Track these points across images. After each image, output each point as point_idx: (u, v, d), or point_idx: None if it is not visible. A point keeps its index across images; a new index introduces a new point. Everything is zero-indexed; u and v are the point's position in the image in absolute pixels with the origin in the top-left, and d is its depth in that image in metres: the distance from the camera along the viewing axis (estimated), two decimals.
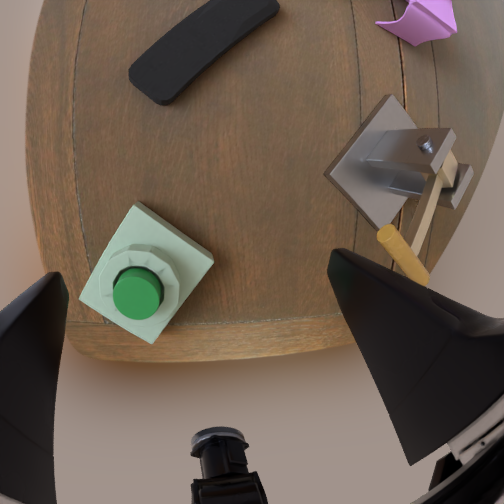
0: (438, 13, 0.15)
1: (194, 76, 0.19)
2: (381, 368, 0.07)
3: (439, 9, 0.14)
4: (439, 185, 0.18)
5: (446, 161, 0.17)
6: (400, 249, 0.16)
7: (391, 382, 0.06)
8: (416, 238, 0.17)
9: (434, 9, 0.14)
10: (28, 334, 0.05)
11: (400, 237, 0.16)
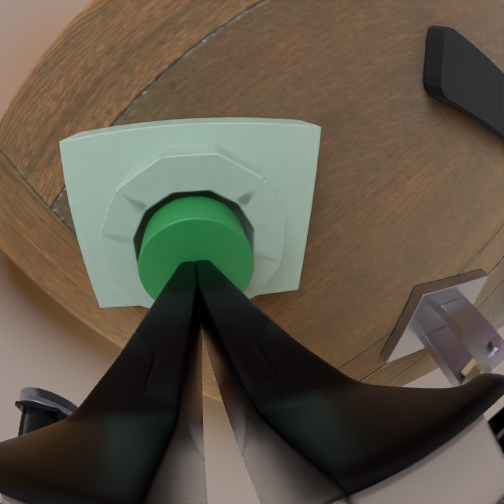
0: None
1: (466, 110, 0.12)
2: (227, 406, 0.06)
3: None
4: None
5: None
6: None
7: (234, 425, 0.06)
8: None
9: None
10: (195, 329, 0.06)
11: None
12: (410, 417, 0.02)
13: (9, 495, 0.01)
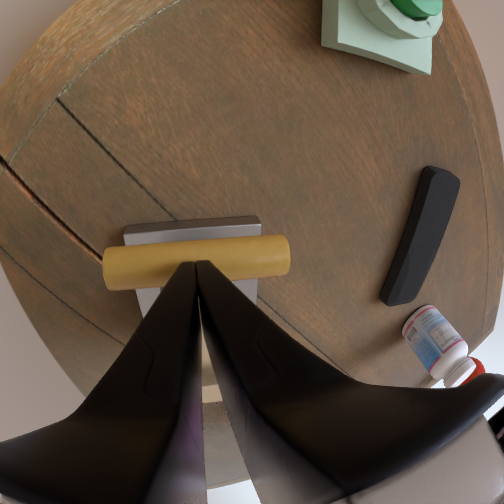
0: None
1: (420, 206, 0.21)
2: (227, 406, 0.06)
3: None
4: (204, 369, 0.13)
5: None
6: (252, 263, 0.09)
7: (234, 425, 0.06)
8: None
9: None
10: (195, 329, 0.06)
11: (265, 275, 0.09)
12: (411, 418, 0.02)
13: (9, 495, 0.01)
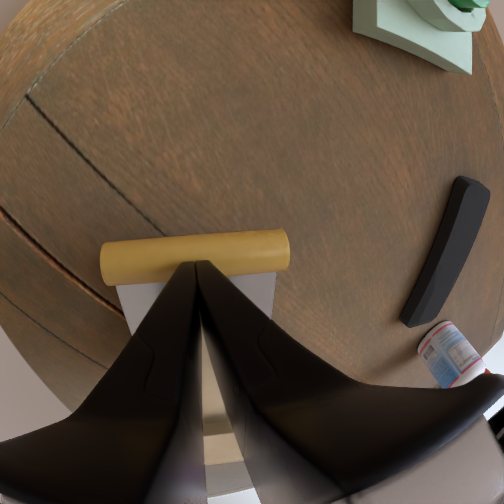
0: None
1: (451, 221, 0.17)
2: (227, 405, 0.06)
3: None
4: (211, 414, 0.10)
5: (237, 444, 0.10)
6: (251, 247, 0.09)
7: (234, 425, 0.06)
8: None
9: None
10: (195, 329, 0.06)
11: (266, 264, 0.09)
12: (410, 418, 0.02)
13: (9, 495, 0.01)
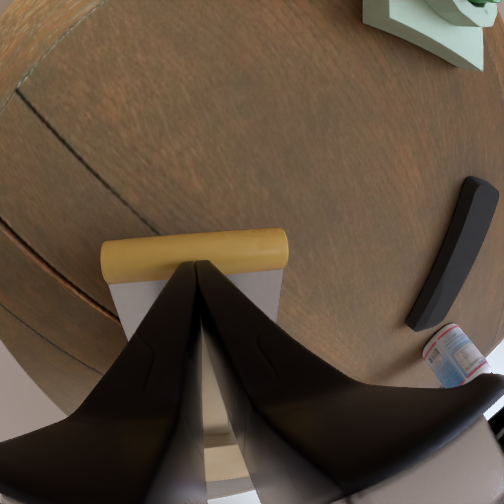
0: None
1: (461, 222, 0.17)
2: (227, 406, 0.06)
3: None
4: (212, 425, 0.10)
5: (241, 458, 0.10)
6: (249, 243, 0.09)
7: (234, 425, 0.06)
8: None
9: None
10: (195, 329, 0.06)
11: (265, 260, 0.09)
12: (410, 417, 0.02)
13: (9, 495, 0.01)
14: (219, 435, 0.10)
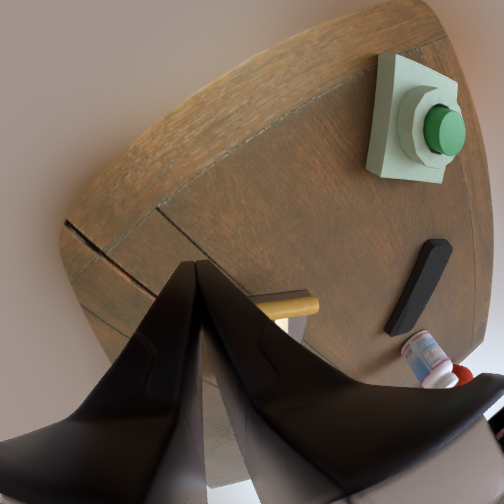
0: None
1: (420, 270, 0.28)
2: (227, 406, 0.06)
3: None
4: None
5: None
6: (304, 305, 0.21)
7: (234, 425, 0.06)
8: (286, 329, 0.21)
9: None
10: (195, 329, 0.06)
11: (309, 311, 0.21)
12: (410, 418, 0.02)
13: (9, 495, 0.01)
14: None
